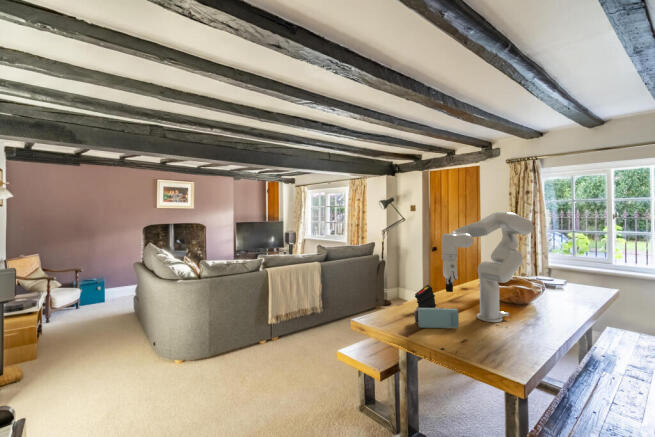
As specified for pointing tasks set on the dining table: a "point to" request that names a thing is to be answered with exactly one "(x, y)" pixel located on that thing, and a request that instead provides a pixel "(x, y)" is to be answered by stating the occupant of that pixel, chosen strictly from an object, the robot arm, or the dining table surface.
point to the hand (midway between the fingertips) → (449, 291)
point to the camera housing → (417, 313)
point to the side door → (438, 318)
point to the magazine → (425, 298)
